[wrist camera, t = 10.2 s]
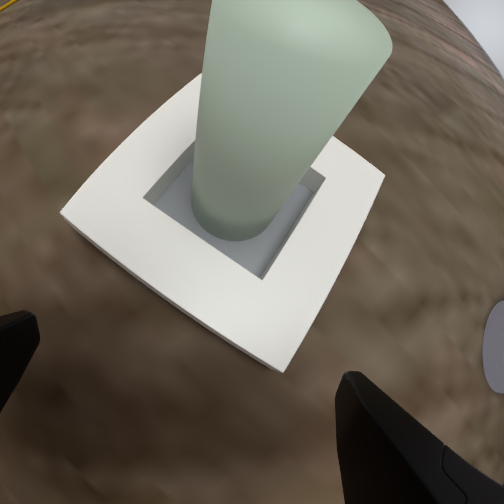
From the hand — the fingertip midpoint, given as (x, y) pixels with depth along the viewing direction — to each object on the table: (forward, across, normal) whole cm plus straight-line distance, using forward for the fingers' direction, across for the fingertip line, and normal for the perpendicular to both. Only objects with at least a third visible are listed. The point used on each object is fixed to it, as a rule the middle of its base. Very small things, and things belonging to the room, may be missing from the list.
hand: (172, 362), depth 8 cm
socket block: (+13, 0, -2) cm, 13 cm away
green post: (+12, 0, -2) cm, 12 cm away
